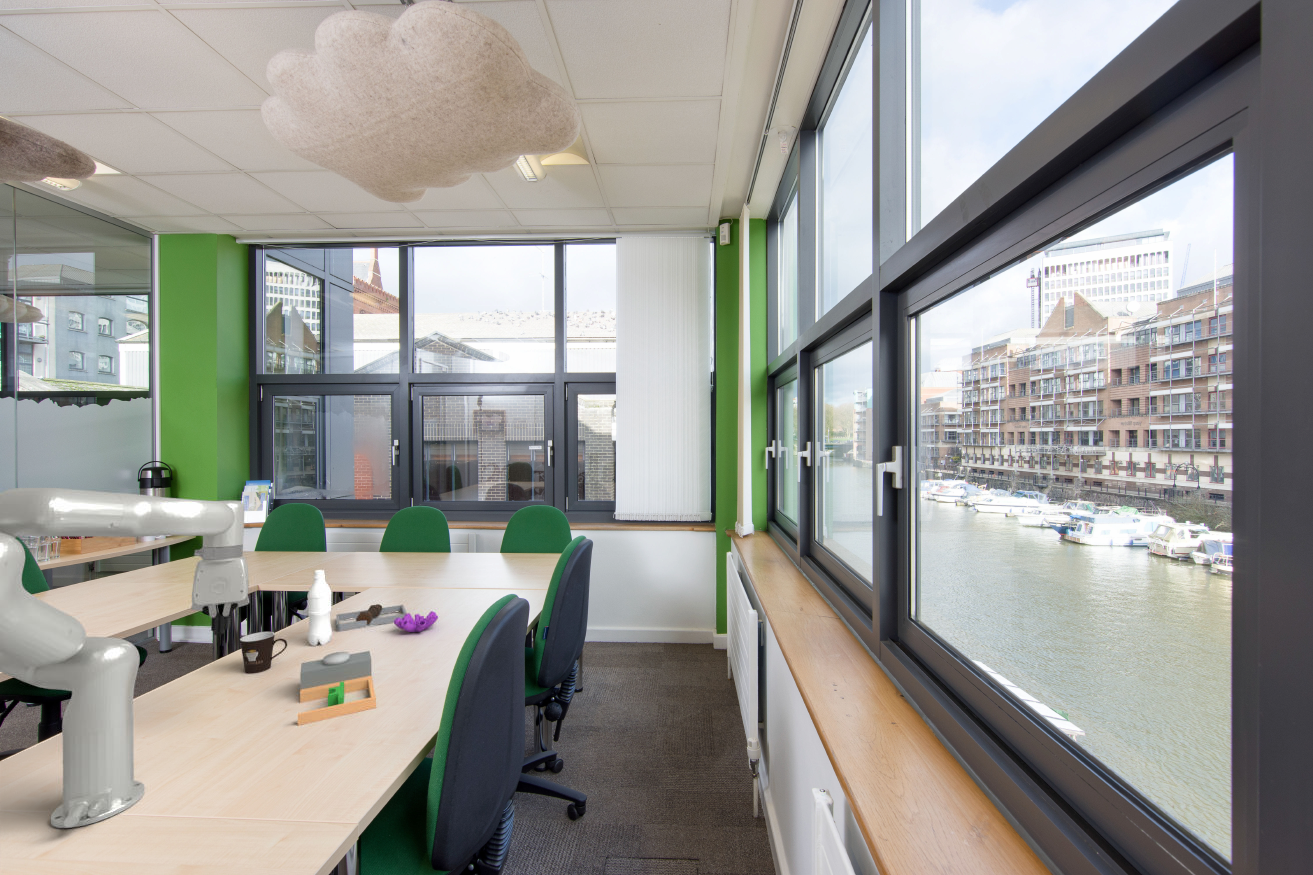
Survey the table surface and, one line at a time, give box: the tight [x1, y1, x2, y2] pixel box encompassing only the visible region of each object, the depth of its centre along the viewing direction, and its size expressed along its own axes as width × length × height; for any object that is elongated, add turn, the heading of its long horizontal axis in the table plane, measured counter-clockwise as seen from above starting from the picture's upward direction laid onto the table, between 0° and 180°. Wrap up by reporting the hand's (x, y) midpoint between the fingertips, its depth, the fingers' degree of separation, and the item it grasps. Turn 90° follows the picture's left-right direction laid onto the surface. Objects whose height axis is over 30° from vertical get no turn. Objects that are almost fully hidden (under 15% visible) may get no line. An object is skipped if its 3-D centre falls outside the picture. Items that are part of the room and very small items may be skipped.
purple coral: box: [393, 611, 439, 633], centre depth 204 cm, size 11×15×10 cm
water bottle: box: [307, 569, 333, 647], centre depth 193 cm, size 7×7×25 cm
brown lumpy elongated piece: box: [355, 603, 383, 625], centre depth 217 cm, size 6×5×15 cm
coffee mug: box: [239, 631, 288, 675], centre depth 171 cm, size 12×9×10 cm
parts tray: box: [335, 604, 408, 632], centre depth 217 cm, size 15×24×2 cm, turn 120°
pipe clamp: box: [327, 682, 345, 707], centre depth 146 cm, size 10×4×4 cm, turn 27°
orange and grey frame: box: [297, 650, 377, 726], centre depth 151 cm, size 24×17×8 cm
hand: (219, 632), depth 130 cm, fingers closed
